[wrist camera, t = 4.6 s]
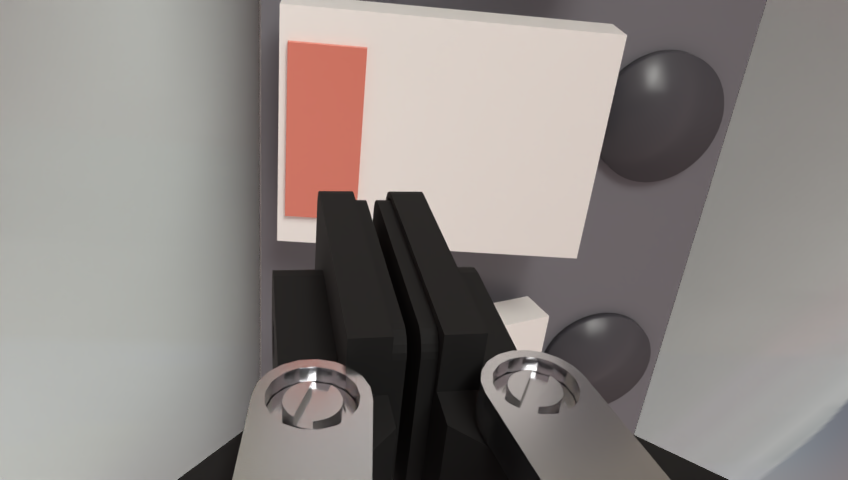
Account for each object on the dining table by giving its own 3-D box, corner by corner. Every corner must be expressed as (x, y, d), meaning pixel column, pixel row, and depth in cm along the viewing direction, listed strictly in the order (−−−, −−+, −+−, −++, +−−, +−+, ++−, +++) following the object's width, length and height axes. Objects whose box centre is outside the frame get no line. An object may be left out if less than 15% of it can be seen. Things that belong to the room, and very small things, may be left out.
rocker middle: (602, 16, 19) (628, 36, 17) (559, 223, 22) (577, 260, 20) (288, -14, 18) (279, 4, 16) (285, 205, 21) (276, 242, 19)
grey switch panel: (858, -658, 18) (1017, -782, 14) (568, 460, 35) (607, 536, 31) (257, -845, 15) (260, -1069, 11) (259, 485, 31) (261, 573, 28)
